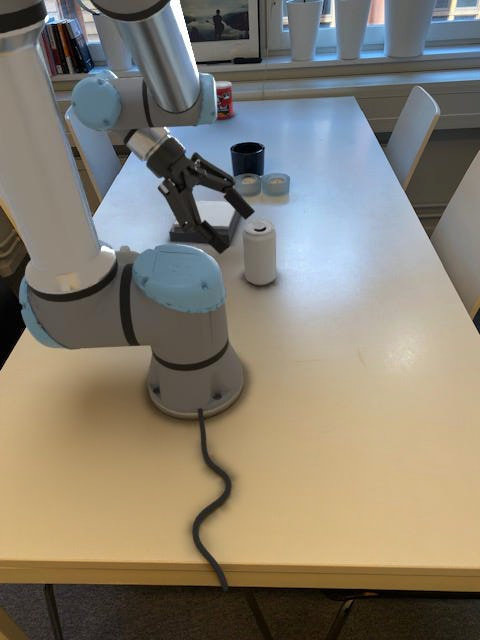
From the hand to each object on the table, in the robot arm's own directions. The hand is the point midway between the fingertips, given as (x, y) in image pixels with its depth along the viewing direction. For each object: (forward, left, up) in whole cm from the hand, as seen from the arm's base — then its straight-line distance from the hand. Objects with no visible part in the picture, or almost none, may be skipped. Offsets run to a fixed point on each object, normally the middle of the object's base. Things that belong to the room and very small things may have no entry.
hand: (238, 232), depth 96 cm
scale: (+19, +12, -10) cm, 24 cm away
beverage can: (-1, -4, -10) cm, 11 cm away
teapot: (-9, +22, -10) cm, 26 cm away
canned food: (+100, +25, -10) cm, 104 cm away
